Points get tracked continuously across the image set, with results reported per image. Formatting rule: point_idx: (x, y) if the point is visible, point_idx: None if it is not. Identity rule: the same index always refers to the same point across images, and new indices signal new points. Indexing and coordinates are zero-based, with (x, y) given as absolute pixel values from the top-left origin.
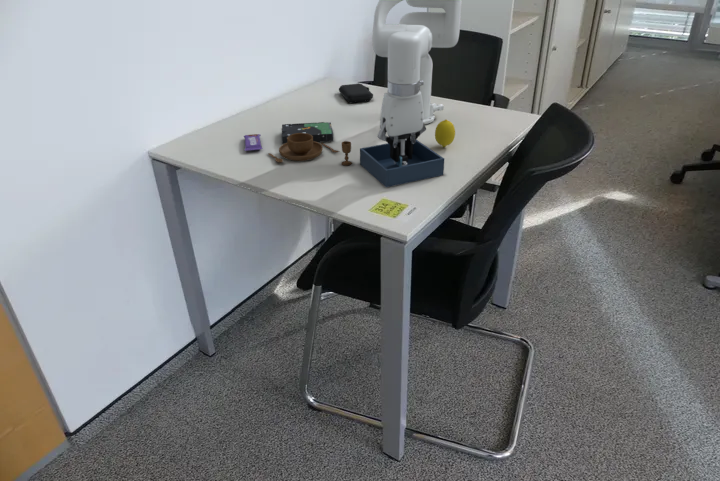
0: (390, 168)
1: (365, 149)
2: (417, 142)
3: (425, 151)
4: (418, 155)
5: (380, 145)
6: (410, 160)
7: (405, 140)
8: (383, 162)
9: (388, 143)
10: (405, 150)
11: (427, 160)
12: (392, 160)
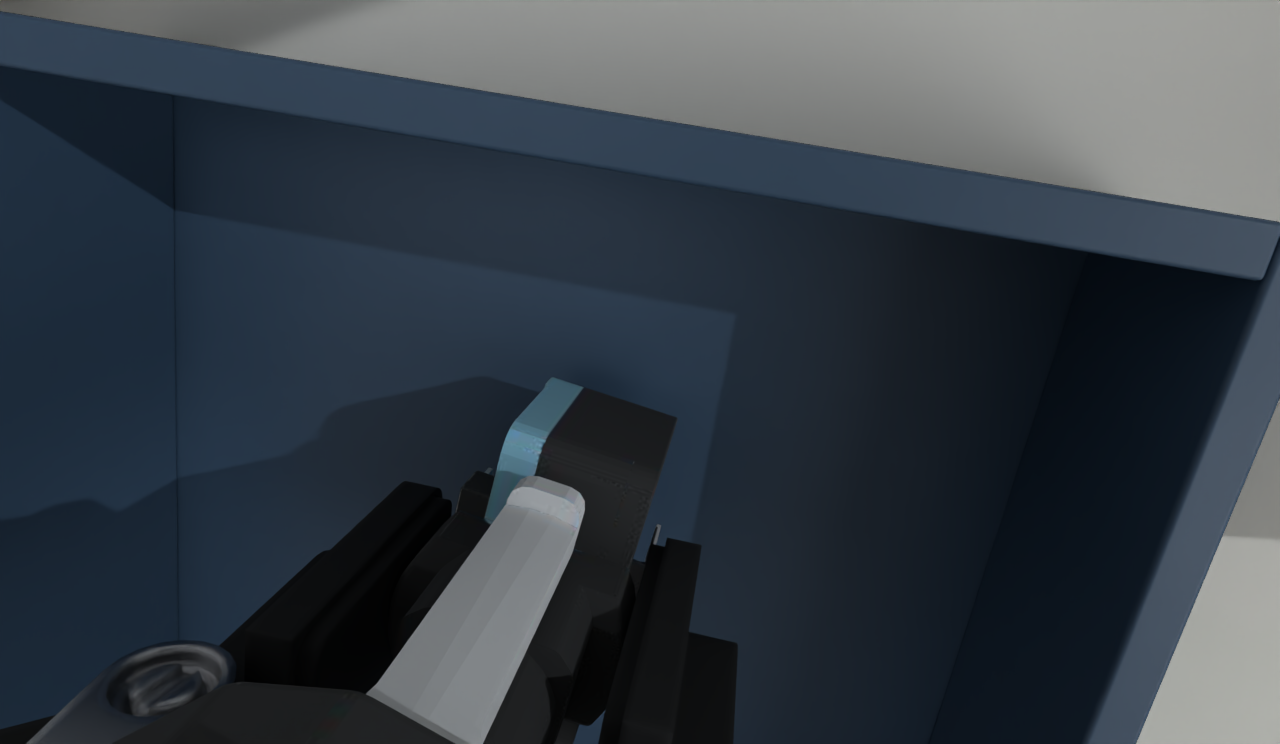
0: (437, 459)
1: (4, 66)
2: (1180, 467)
3: (1034, 725)
4: (1048, 431)
5: (336, 118)
6: (850, 426)
7: (1029, 221)
8: (460, 236)
9: (551, 133)
10: (572, 721)
11: (968, 701)
12: (621, 255)
